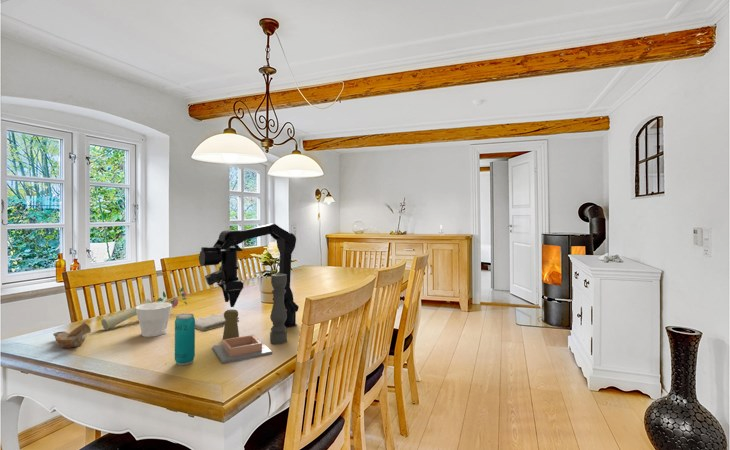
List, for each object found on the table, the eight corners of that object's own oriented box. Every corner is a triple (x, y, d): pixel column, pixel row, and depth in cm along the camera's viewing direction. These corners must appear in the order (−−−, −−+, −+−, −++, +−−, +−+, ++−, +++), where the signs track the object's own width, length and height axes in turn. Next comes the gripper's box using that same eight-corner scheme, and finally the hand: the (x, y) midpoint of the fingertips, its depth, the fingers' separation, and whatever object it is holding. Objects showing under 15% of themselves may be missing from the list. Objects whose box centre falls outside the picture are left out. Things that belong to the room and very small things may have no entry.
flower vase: (106, 345, 152) (180, 309, 182) (120, 342, 146) (195, 305, 176) (94, 319, 151) (171, 287, 182) (108, 314, 145) (185, 282, 175)
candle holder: (290, 339, 140) (290, 274, 139) (281, 345, 134) (281, 276, 133) (275, 337, 142) (276, 273, 141) (266, 343, 136) (267, 275, 135)
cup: (176, 333, 145) (176, 305, 145) (141, 341, 136) (141, 311, 136) (165, 326, 154) (165, 300, 154) (131, 333, 145) (131, 305, 145)
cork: (233, 342, 136) (233, 312, 136) (219, 340, 138) (219, 311, 137) (242, 336, 142) (242, 308, 142) (228, 335, 144) (228, 307, 143)
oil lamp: (69, 355, 122) (69, 325, 122) (42, 343, 133) (42, 315, 133) (99, 347, 130) (99, 319, 129) (71, 336, 140) (71, 310, 140)
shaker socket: (257, 340, 139) (257, 331, 139) (272, 353, 125) (272, 344, 125) (212, 348, 130) (212, 338, 130) (222, 363, 116) (222, 353, 116)
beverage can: (179, 359, 119) (179, 313, 119) (197, 359, 120) (197, 313, 120) (171, 366, 114) (171, 318, 113) (190, 366, 114) (190, 317, 114)
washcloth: (240, 322, 164) (241, 315, 164) (203, 332, 149) (203, 324, 149) (224, 318, 170) (224, 311, 170) (187, 327, 155) (187, 320, 155)
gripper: (202, 262, 144) (202, 302, 144) (210, 268, 128) (211, 313, 128) (232, 260, 150) (232, 298, 150) (243, 266, 134) (243, 308, 134)
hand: (229, 304), depth 140 cm, fingers open, 9 cm apart
